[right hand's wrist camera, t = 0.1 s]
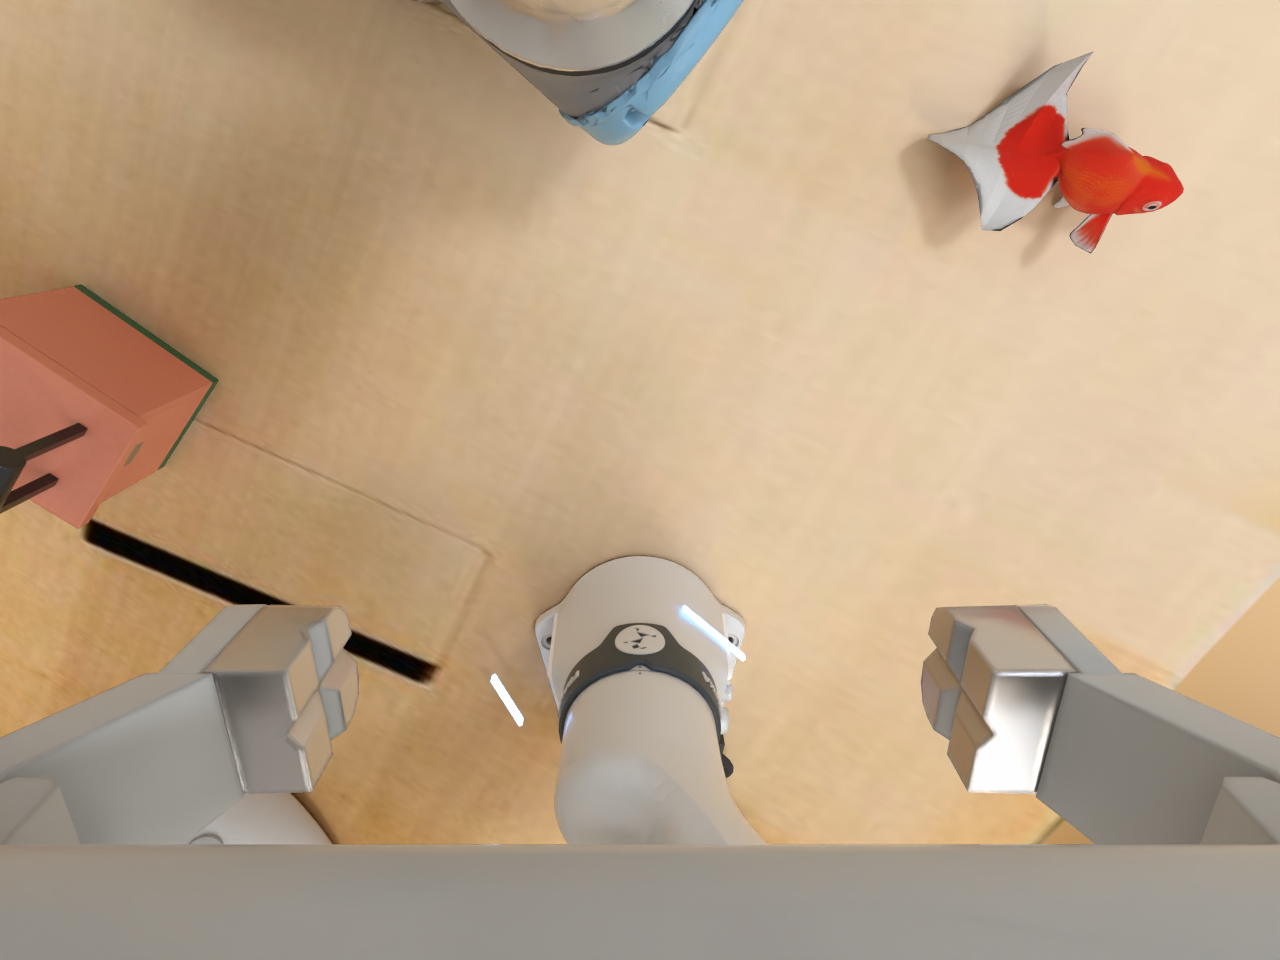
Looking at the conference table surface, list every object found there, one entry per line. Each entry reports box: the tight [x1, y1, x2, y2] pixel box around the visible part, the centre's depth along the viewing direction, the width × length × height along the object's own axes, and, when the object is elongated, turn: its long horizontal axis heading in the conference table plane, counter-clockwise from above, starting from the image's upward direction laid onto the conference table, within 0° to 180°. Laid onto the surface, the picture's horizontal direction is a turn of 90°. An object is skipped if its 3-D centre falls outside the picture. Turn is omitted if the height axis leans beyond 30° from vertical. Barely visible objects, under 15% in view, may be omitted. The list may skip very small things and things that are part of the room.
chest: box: [0, 285, 218, 502], centre depth 53 cm, size 12×10×10 cm
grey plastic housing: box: [185, 793, 332, 844], centre depth 67 cm, size 22×23×15 cm
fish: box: [928, 52, 1184, 253], centre depth 48 cm, size 11×16×10 cm
